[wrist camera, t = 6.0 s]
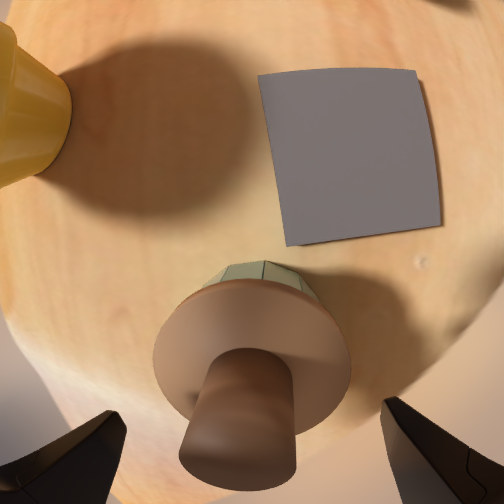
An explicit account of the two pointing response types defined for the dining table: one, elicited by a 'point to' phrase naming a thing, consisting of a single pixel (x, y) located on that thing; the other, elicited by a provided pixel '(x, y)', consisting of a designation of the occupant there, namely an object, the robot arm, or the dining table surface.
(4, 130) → the plant pot
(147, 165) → the dining table surface
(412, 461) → the robot arm
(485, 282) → the dining table surface
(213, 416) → the lid
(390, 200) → the mat
